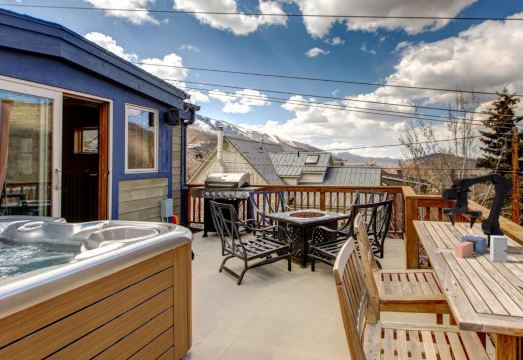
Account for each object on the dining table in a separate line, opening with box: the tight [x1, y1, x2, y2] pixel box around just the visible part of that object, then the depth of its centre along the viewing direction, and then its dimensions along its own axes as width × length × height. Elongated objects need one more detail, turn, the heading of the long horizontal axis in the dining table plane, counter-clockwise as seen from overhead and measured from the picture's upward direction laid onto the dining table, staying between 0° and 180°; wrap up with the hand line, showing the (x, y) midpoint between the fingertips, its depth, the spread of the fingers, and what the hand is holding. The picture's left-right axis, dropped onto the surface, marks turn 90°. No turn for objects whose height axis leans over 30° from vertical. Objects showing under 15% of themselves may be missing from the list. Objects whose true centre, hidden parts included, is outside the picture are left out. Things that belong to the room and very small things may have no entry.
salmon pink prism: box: [454, 241, 474, 259], centre depth 171 cm, size 13×4×6 cm, turn 126°
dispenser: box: [460, 234, 488, 255], centre depth 178 cm, size 7×10×8 cm
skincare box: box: [489, 235, 508, 263], centre depth 160 cm, size 6×4×12 cm
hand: (462, 227), depth 185 cm, fingers open, 9 cm apart
